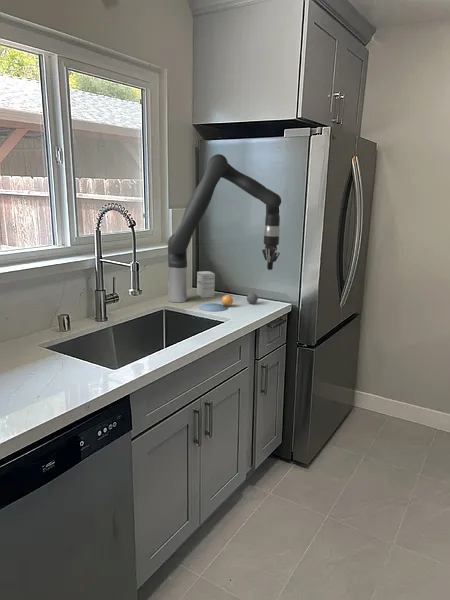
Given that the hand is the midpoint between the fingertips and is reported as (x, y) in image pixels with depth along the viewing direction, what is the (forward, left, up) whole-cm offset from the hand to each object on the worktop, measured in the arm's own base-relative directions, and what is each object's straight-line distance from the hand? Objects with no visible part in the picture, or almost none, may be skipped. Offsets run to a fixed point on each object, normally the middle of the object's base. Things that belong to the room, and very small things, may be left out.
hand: (269, 269), depth 231 cm
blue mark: (-29, -11, -17) cm, 35 cm away
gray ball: (-9, -3, -14) cm, 17 cm away
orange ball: (-22, -8, -14) cm, 27 cm away
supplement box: (-31, +13, -17) cm, 38 cm away
